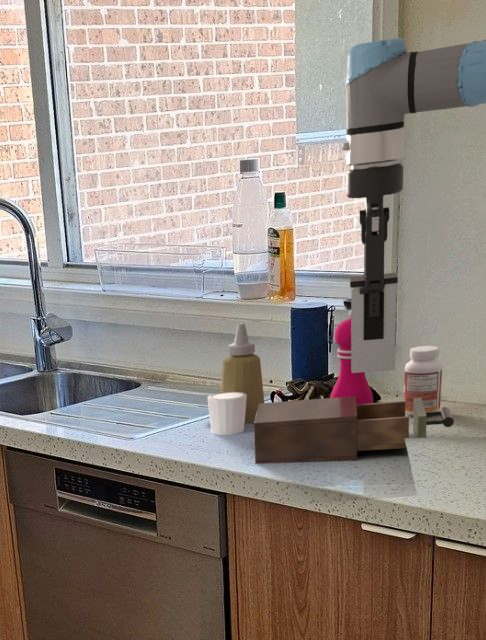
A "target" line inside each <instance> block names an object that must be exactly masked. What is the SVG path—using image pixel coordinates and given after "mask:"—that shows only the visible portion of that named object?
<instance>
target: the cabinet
mask: <svg viewBox="0 0 486 640" xmlns="http://www.w3.org/2000/svg"><path fill="white" fill-rule="evenodd" d="M253 431H254V432H253V434H254V457H255V458H254V462H255V465H257V464H258V465H260V464H261V465H262V464H296V463H325V462H326V463H330V462H331V463H332V462H354V461H358V451H357V410H356V396H352V397H338V398H330V397H326V398H313V399H299V400H287V401H286V400H285V401H273V402H264V403H259V406H258V410H257V414H256V418H255V422H254V423H253Z"/></svg>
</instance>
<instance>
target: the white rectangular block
mask: <svg viewBox="0 0 486 640" xmlns="http://www.w3.org/2000/svg"><path fill="white" fill-rule="evenodd" d="M398 282H399V278H398V274H397V272H388V273H387V272H385V273H384V283H385V287H384V290H383V292H384V339H376V340H364V294H360V290H361V289H364V285H365V276H363V275H357V276H350V277H349V287H350V288H351V290H350V291H351V293H350V295H351V301H350V302H351V303H350V305H351V306H350V307H351V308H350V310H351V373H360V372H365V373H371V372H373V373H374V372H384V371H395V370H396V325H397V323H396V321H397V320H396V314H397V312H396V311H397V284H398Z"/></svg>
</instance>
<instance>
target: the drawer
mask: <svg viewBox="0 0 486 640" xmlns="http://www.w3.org/2000/svg"><path fill="white" fill-rule="evenodd" d="M356 410H357V452H363V451H377V450H379V451H380V450H381V451H382V450H394V449H398V450H399V449H407V443H406V439H409V438H410V417H409V416H406V413H405V401H403V400H398V401H397V400H396V401H385V402H384V401H383V402H373V403H370V404H356ZM434 416H435V417H436V416H439V417H440V419H431V420H430V419H429V420H427V419H428V418H427V417H434ZM412 418H413V419H412V431H413V436H414V439H426V438H427V426H433V425H434V426H435V425H443V426H444V427H445V428H451V427H452V426H453V425H454V423H455V420H454V417H453V414H452V411H451V409H450V408H449V407H448V406H446V407H445V406H444V407H442V408H440V410H439V411H433V412H425V409H424V405H423V402H422V398H414V401H413V415H412Z"/></svg>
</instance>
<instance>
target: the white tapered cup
mask: <svg viewBox="0 0 486 640" xmlns="http://www.w3.org/2000/svg"><path fill="white" fill-rule="evenodd" d="M246 399H247V395H246V394H245V393H241V392H223V393H220V392H217V393H213V394H210V395H208V396H207V405H208V406H207V407H208V415H209V423H210V432H211V434H212V435H218V436H231V435H237V434H241V433H243V432H245V424H244V422H245V411H246Z"/></svg>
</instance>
